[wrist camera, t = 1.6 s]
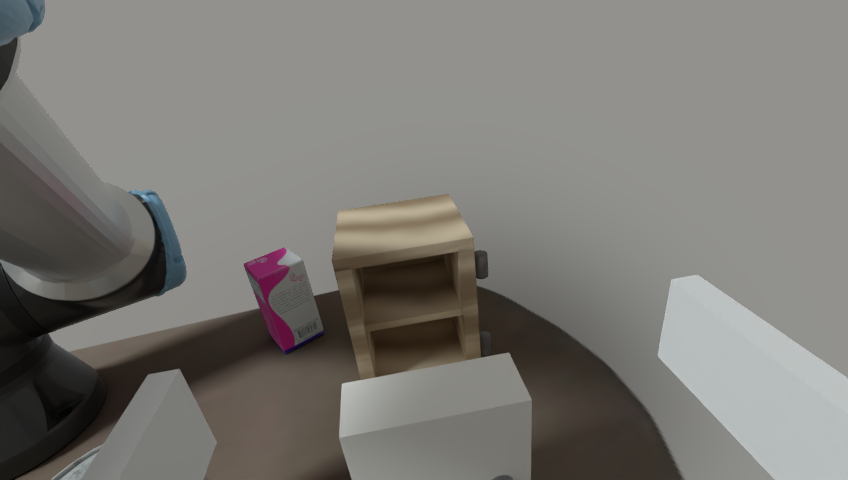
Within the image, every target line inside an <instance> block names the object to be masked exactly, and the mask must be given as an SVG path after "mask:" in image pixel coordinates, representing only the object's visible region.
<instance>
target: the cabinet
mask: <svg viewBox="0 0 848 480" xmlns="http://www.w3.org/2000/svg"><path fill="white" fill-rule="evenodd" d="M332 256H333V257H332V263H333V267H334V271H335V276H336V280H337V284H338V288H339V292H340V296H341V300H342V304H343V308H344V312H345V317H346V321H347V325H348V329H349V333H350V337H351V341H352V345H353V349H354V353H355V357H356V362H357V366H358V370H359V374H360V378H361V380H364V379H370V378H375V377H380V376H386V375H391V374H397V373H402V372H407V371H413V370H418V369H423V368H429V367H434V366H439V365H445V364H450V363H455V362H461V361H466V360H472V359H477V358H481V356H483V357H488V356H490V355H491V354H492V345H491V334H490V332H488V331H481V332H479V317H478V302H477V286H476V278H478V279H484V278H486V277H488V261H487V252H485V251H481V250H479V251H475V252H474V239H473V236H472V234H471V233H470V231H469V229H468V227H467V225H466V224H465V222H464V220H463V218H462V217H461V215H460V213H459V211H458V210H457V208H456V206H455V204H454V203H453V201H452V199H451V198H450V196H449V194H444V195H438V196H431V197H425V198H418V199H412V200H405V201H399V202H393V203H386V204H380V205H374V206H367V207H361V208H354V209H348V210H341V211H338V217H337V225H336V232H335V240H334V249H333V255H332Z"/></svg>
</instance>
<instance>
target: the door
mask: <svg viewBox="0 0 848 480" xmlns="http://www.w3.org/2000/svg"><path fill="white" fill-rule="evenodd" d="M531 424H532V399H531V397H530V395H529V393H528V391H527V389H526V387H525V385H524V383H523V381H522V378H521V376H520V374H519V372H518V370H517V368H516V366H515V364H514V362H513V360H512V357H511V355H510V353H504V354H498V355H493V356H488V357H482V358H477V359H472V360H466V361H461V362H455V363H450V364H445V365H439V366H434V367H429V368H423V369H418V370H413V371H407V372H402V373H397V374H391V375H386V376H380V377H375V378H370V379H364V380H359V381H354V382H348V383H343V384H342V391H341V410H340V429H339V439H340V443H341V446H342V449H343V453H344V456H345V459H346V463H347V466H348V469H349V472H350V476H351V479H352V480H531Z"/></svg>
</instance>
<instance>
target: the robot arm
mask: <svg viewBox="0 0 848 480" xmlns="http://www.w3.org/2000/svg"><path fill="white" fill-rule="evenodd" d="M44 3H45V2H44V0H0V480H10V479H12V478H14V477H16V476H18V475H20V474H22V473H24V472H26V471H28V470H30V469H31V468H33V467H35V466H37V465H38V464H40V463H42V462H43V461H45V460H46V459H48V458H49V457H51V456H52V455H54V454H55V453H56V452H58V451H59V450H60V449H62V448H63V447H64V446H66V445H67V444H68V443H69V442H71V441H72V440H73V439H74V438H75V437H76V436H77V435H79V434H80V433H81V432H82V431H83V430H84V429H85V428H86V427H87V426H88V424H89V423H90V422H91V421H92V420H93V419H94V417H95V416H96V415H97V413H98V412H99V410H100V409H101V407H102V405H103V403H104V400H105V397H106V386H105V384H104V382H103V381H102V379H101V378H100V376H99V375H98V373H97V372H96V371H95V370H94V369H93V368H92V367H91V366H89V365H88V364H86V363H85V362H83V361H82V360H80V359H78V358H77V357H75V356H74V355H72V354H71V353H69V352H68V351H66V350H64V349H63V348H61V347H60V346H58V345H57V344H55V343H54V342H53V340H52V339H51V337H50V336H49V334H48V333H50V332H53V331H56V330H58V329H61V328H64V327H67V326H70V325H73V324H75V323H78V322H81V321H84V320H87V319H90V318H93V317H96V316H99V315H102V314H104V313H107V312H110V311H113V310H116V309H119V308H122V307H125V306H127V305H130V304H133V303H136V302H139V301H142V300H145V299H148V298H150V297H154V296H160V295H162V294H164V293H165V292H166V291H169V290H171V289H173V288H175V287H178V286H180V285H181V284H182V283H183V282H184V281H185V278H186V266H185V262H184V259H183V256H182V255H181V249H180V245H179V242H178V239H177V236H176V233H175V230H174V228H173V225H172V223H171V220H170V218H169V215H168V213H167V211H166V209H165V206H164V204H163V202H162V201H161V199H160V198H159V196H158V195H157V194H156V193H155V192H154V191H151V190H142V191H137V190H134V191H129V192H127V191H125V190H123V189H121V188H119V187H117V186H114V185H111V184H108V183H105V182H102V181H101V180H100V178H99V177H98V176H97V174H96V173H95V172H94V171H93V169H92V168H91V167H90V166H89V164H88V163H87V162H86V161H85V159H84V158H83V157H82V156H81V155H80V153H79V152H78V151H77V150H76V148H75V147H74V146H73V144H72V143H71V142H70V141H69V139H68V138H67V137H66V135H65V134H64V133H63V132H62V131H61V129H60V128H59V127H58V125H57V124H56V123H55V122H54V120H53V119H52V118H51V117H50V115H49V114H48V113H47V112H46V110H45V109H44V108H43V107H42V105H41V104H40V103H39V102H38V101H37V99H36V98H35V97H34V95H33V94H32V93H31V92H30V90H29V89H28V88H27V87H26V86H25V84H24V83H23V82H22V80H21V79H20V78H19V77H18V75H17V74H16V70H17V67H18V62H19V57H20V51H21V50H20V36H21V35H23V34H25V33H27V32H32V31H34V30H35V29H36V28H37V27H38V26H39V25H40V24H41V23H42V21H43V18H44V14H45V4H44ZM658 357H659V358H660V359H661V360H662V361H663V363H664V364H665V365H666V366H667V367H668V368H669V369H670V370H671V371H672V372H673V373H674V374H675V375H676V376H677V377H678V378H679V379H680V381H682V383H684V385H685V386H686V387H687V388H688V389H689V390H690V391H691V392H692V393H693V394H694V395H695V396H696V397H697V398H698V400H699V401H700V402H701V403H702V404H703V405H704V406H705V407H706V408H707V409H708V410H709V411H710V412H711V413H712V414H713V415H714V416H715V417H716V419H717V420H718V421H719V422H721V424H722V425H723V426H724V427H725V428H726V429H727V430H728V431H729V432H730V433H731V434H732V435H733V436H734V438H735V439H736V440H737V441H738V442H739V443H740V444H741V445H742V446H743V447H744V448H745V449H746V450H747V451H748V452H749V453H750V454H751V455H752V456H753V458H754V459H755V460H756V461H757V462H758V463H759V464H760V465H761V466H762V467H763V468H764V469H765V470H766V471H767V472H768V473H769V474H770V475H771V477H772V478H773V479H774V480H848V378H847V377H845V376H844V375H842V374H841V373H839V372H838V371H836V370H835V369H833V368H832V367H831V366H829V365H828V364H826V363H825V362H823V361H822V360H820V359H819V358H818V357H816V356H815V355H813V354H812V353H810V352H809V351H807V350H806V349H805V348H803V347H802V346H800V345H799V344H797V343H796V342H794V341H793V340H791V339H790V338H789V337H787V336H785V335H784V334H783V333H781V332H780V331H778V330H777V329H775V328H774V327H772V326H771V325H770V324H768V323H767V322H765V321H764V320H762V319H761V318H760V317H758V316H757V315H755V314H754V313H752V312H751V311H749V310H748V309H746V308H745V307H743V306H742V305H740V304H739V303H738V302H736V301H735V300H733V299H732V298H730V297H729V296H727V295H726V294H725V293H723V292H722V291H720V290H719V289H717V288H716V287H714V286H713V285H712V284H710V283H709V282H707V281H706V280H704V279H703V278H701V277H700V276H698V275H694V276H688V277H683V278H677V279H672V280H671V285H670V290H669V296H668V302H667V307H666V312H665V317H664V324H663V329H662V334H661V340H660V345H659V350H658ZM216 443H217V442H216V440H215V438H214V436H213V434H212V432H211V430H210V428H209V426H208V424H207V422H206V420H205V418H204V416H203V414H202V412H201V410H200V408H199V406H198V404H197V402H196V400H195V398H194V396H193V394H192V392H191V390H190V388H189V386H188V384H187V382H186V381H185V379H184V377H183V375H182V373H181V371H180V369H175V370H170V371H164V372H159V373H153V374H148V375H147V377H146V378H145V380H144V381H143V383H142V385H141V386H140V388H139V389H138V391H137V392H136V394H135V395H134V397H133V399H132V400H131V402H130V403H129V405H128V406H127V408H126V410H125V411H124V413H123V414H122V416H121V417H120V419H119V420H118V422H117V424H116V425H115V427H114V428H113V430H112V431H111V433H110V434H109V436H108V438H107V439H106V441H105V442H104V444H103V445H102V447H101V449H100V450H99V452H98V453H97V455H96V456H95V458H94V459H93V461H92V463H91V464H90V466H89V467H88V469H87V470H86V472H85V473H84V475H83V477H82V478H81V480H203V479H204V477H205V474H206V471H207V468H208V465H209V463H210V460H211V457H212V454H213V451H214V449H215V446H216Z"/></svg>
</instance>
